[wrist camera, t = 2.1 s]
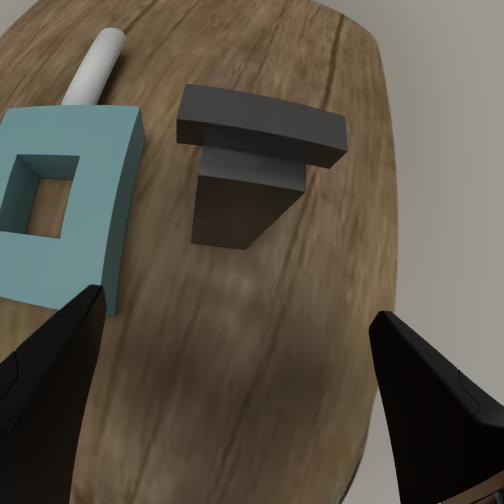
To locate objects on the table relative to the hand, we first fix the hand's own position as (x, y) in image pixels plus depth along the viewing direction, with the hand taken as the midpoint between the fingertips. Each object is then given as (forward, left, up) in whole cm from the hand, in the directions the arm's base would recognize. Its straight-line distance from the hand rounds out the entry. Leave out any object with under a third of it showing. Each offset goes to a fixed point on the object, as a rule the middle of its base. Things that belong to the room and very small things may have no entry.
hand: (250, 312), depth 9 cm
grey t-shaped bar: (+5, -4, -13) cm, 15 cm away
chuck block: (+16, +4, -13) cm, 21 cm away
